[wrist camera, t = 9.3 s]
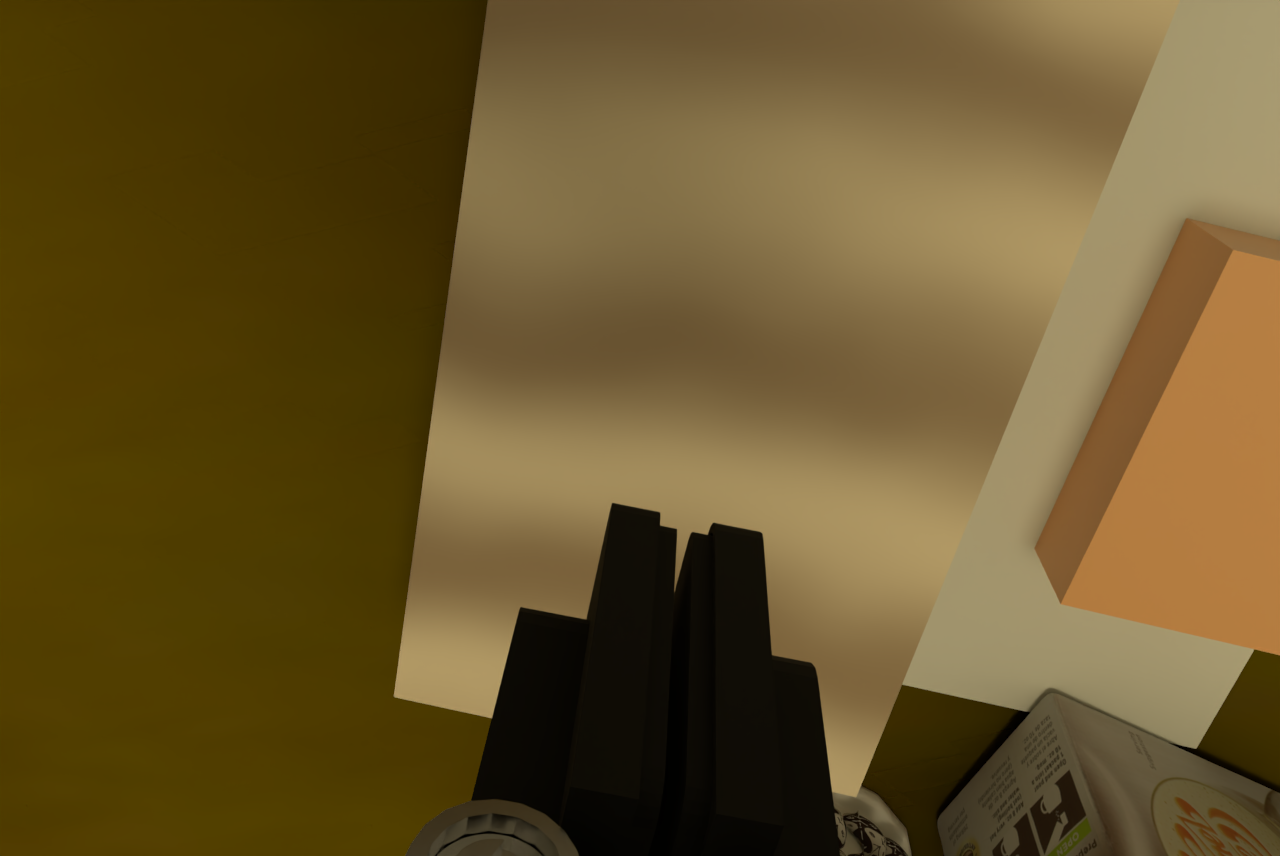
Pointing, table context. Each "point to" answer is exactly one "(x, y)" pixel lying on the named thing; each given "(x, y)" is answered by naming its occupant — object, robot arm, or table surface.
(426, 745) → the table surface
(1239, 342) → the orange rectangular block
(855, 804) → the decorative candle
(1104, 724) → the coffee box
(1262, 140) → the mat
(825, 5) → the beige brown rectangular block
